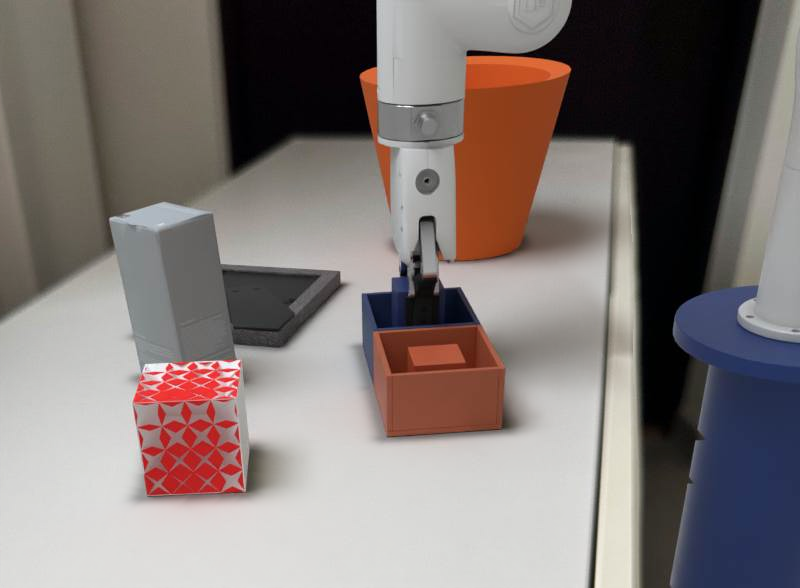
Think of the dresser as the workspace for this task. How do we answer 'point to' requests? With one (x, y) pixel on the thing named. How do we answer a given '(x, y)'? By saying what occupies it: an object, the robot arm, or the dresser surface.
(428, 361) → the rust block
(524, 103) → the flowerpot
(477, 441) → the dresser surface
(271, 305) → the picture frame
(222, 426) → the red and white cube
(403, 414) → the rust bin
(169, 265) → the cosmetic box
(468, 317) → the navy bin
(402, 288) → the navy block
